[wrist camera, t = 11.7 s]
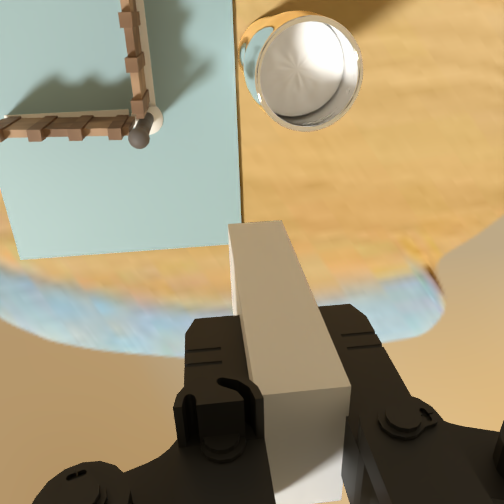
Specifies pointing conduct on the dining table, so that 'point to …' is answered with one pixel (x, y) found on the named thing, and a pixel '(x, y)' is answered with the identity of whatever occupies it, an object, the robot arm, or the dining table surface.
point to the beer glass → (301, 68)
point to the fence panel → (66, 127)
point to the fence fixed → (136, 74)
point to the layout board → (120, 151)
